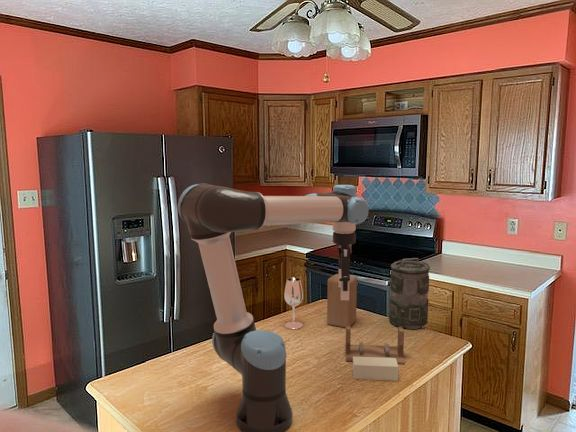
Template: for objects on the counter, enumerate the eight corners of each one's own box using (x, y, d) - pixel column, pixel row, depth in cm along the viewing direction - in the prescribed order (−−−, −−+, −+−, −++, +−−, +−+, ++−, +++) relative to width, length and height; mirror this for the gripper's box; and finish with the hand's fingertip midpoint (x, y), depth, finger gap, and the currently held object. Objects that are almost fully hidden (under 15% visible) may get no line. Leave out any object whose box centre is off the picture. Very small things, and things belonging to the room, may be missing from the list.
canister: (400, 331, 181) (403, 264, 177) (382, 317, 197) (384, 255, 192) (435, 327, 186) (438, 261, 182) (414, 314, 201) (416, 253, 197)
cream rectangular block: (398, 381, 143) (398, 366, 142) (353, 379, 144) (353, 365, 144) (395, 372, 149) (395, 358, 148) (352, 370, 150) (352, 356, 149)
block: (326, 324, 189) (326, 278, 186) (335, 317, 198) (335, 272, 195) (348, 329, 184) (349, 281, 181) (356, 321, 193) (357, 275, 190)
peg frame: (405, 364, 154) (406, 336, 152) (346, 361, 156) (346, 334, 154) (399, 347, 167) (400, 322, 165) (345, 345, 169) (345, 320, 167)
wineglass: (282, 328, 185) (281, 281, 183) (287, 321, 193) (287, 276, 190) (300, 330, 183) (300, 282, 180) (305, 323, 191) (305, 277, 188)
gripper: (359, 239, 137) (358, 306, 140) (352, 225, 161) (351, 282, 164) (334, 238, 137) (333, 305, 140) (331, 225, 162) (331, 282, 165)
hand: (343, 293), depth 152 cm, fingers open, 13 cm apart
